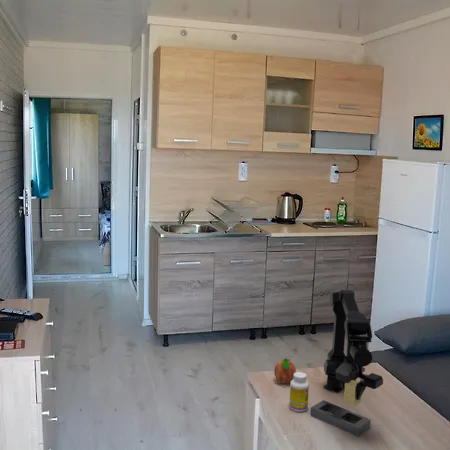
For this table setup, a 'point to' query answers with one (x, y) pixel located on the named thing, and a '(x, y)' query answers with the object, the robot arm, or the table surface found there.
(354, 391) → the olive grained block
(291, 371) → the fruit
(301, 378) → the supplement bottle
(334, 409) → the grey block holder tray
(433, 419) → the table surface
